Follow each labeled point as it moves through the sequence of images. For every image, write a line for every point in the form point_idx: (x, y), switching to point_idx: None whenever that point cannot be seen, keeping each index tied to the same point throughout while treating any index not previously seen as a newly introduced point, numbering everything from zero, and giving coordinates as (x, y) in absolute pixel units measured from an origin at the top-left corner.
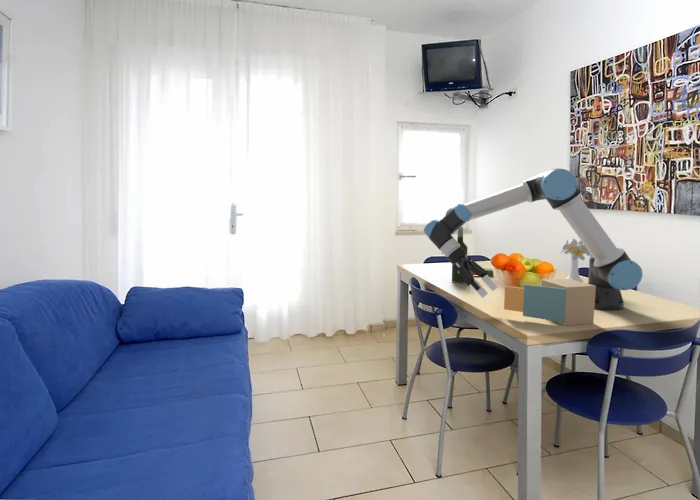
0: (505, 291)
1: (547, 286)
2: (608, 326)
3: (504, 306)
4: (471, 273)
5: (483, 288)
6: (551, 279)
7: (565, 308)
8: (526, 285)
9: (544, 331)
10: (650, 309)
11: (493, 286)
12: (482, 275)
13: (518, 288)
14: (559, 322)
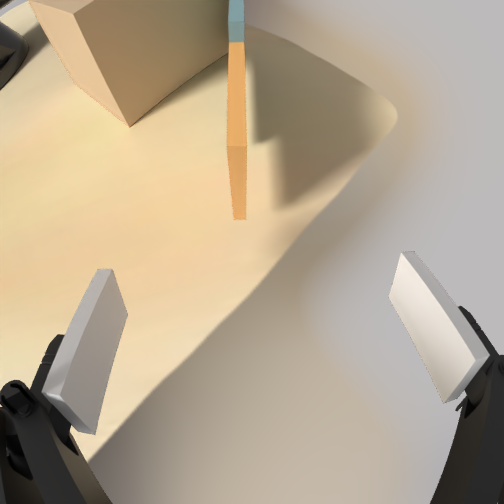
0: (245, 163)
1: (125, 4)
2: None
3: (245, 211)
4: (483, 456)
5: (432, 284)
6: (53, 6)
7: (228, 6)
8: (243, 16)
9: (339, 80)
10: (15, 26)
11: (112, 306)
12: (59, 438)
13: (244, 67)
14: (214, 59)
